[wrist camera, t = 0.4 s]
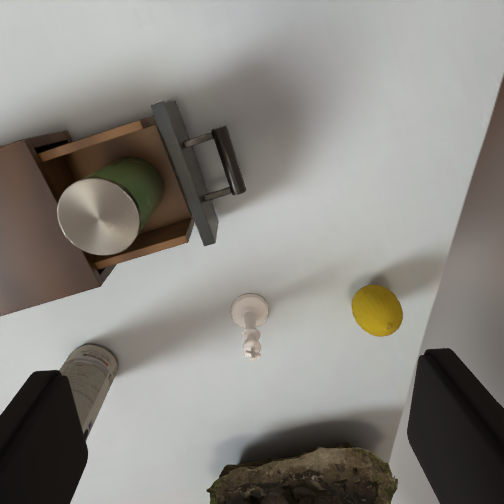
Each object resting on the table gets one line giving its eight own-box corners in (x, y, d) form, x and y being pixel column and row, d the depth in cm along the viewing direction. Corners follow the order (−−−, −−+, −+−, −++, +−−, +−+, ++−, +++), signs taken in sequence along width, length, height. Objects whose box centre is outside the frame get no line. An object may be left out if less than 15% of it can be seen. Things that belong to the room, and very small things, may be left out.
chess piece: (236, 289, 48) (236, 335, 39) (273, 298, 49) (282, 346, 40) (226, 321, 50) (224, 372, 41) (261, 329, 50) (267, 381, 41)
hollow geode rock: (208, 444, 65) (206, 552, 59) (195, 451, 53) (192, 586, 47) (371, 438, 64) (386, 546, 58) (395, 443, 53) (417, 579, 47)
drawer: (216, 86, 38) (212, 84, 32) (254, 210, 43) (257, 230, 37) (53, 140, 39) (18, 149, 33) (109, 254, 45) (88, 281, 38)
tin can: (101, 154, 39) (51, 176, 28) (163, 157, 39) (136, 180, 29) (107, 213, 41) (62, 254, 31) (165, 216, 42) (141, 257, 31)
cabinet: (67, 130, 40) (23, 138, 32) (125, 252, 46) (100, 286, 37) (-58, 171, 41) (-130, 190, 33) (14, 286, 47) (-33, 326, 39)
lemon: (391, 276, 48) (419, 309, 41) (380, 313, 50) (405, 351, 43) (350, 272, 48) (370, 304, 40) (340, 309, 50) (358, 346, 42)
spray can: (81, 386, 53) (-3, 541, 35) (59, 348, 50) (-43, 494, 32) (125, 376, 53) (65, 527, 34) (106, 337, 50) (30, 477, 32)
